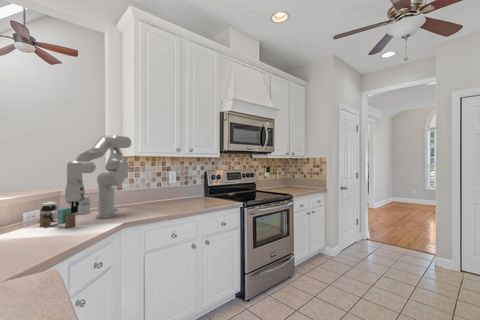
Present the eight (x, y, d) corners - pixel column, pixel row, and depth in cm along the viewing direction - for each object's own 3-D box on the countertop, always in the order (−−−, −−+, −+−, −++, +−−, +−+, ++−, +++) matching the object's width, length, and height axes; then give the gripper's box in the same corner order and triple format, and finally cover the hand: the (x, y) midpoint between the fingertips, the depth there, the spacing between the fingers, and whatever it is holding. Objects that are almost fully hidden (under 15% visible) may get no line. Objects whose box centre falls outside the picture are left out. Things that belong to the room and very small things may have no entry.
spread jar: (45, 218, 160) (45, 201, 160) (65, 217, 164) (65, 200, 164) (37, 223, 148) (37, 205, 148) (58, 221, 152) (58, 204, 152)
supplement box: (81, 214, 171) (81, 197, 171) (73, 214, 174) (73, 197, 174) (90, 212, 178) (90, 196, 178) (83, 212, 181) (83, 195, 181)
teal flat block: (57, 224, 138) (57, 209, 138) (68, 220, 145) (68, 207, 145) (62, 224, 137) (62, 209, 137) (72, 221, 144) (72, 207, 144)
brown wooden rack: (36, 227, 140) (36, 214, 140) (51, 223, 148) (51, 211, 148) (64, 229, 136) (64, 216, 136) (78, 225, 145) (78, 212, 145)
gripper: (90, 181, 142) (90, 212, 142) (69, 181, 145) (69, 210, 145) (80, 183, 135) (79, 214, 135) (58, 182, 138) (58, 213, 138)
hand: (74, 212), depth 140 cm, fingers closed
